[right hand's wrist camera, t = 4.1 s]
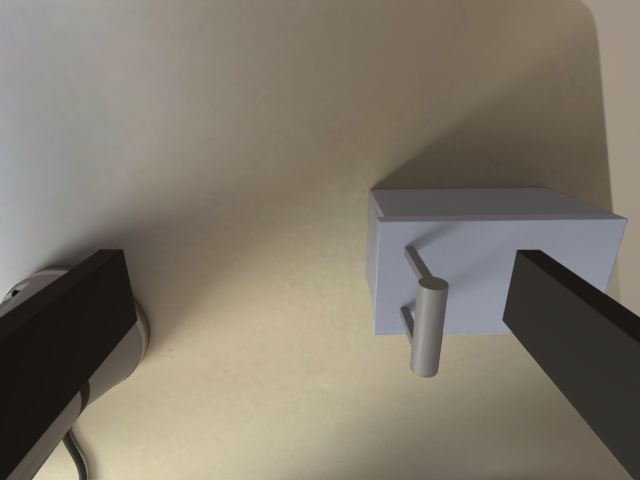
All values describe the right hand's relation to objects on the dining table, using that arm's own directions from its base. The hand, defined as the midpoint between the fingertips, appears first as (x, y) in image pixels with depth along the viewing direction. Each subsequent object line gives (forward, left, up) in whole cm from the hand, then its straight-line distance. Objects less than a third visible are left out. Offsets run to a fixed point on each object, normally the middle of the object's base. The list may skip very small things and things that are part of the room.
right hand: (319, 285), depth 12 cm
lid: (-4, -15, -16) cm, 22 cm away
